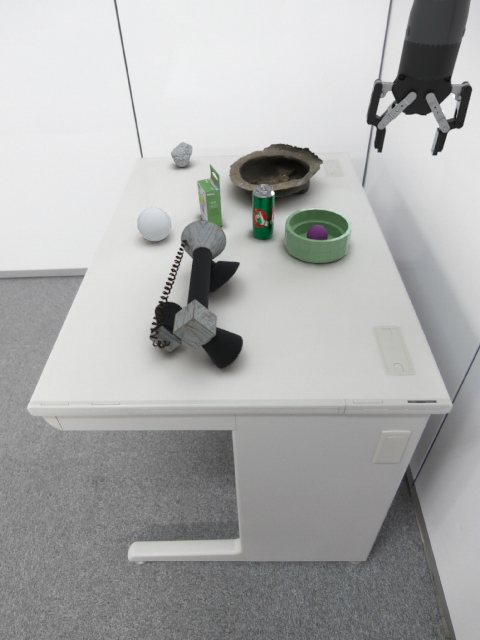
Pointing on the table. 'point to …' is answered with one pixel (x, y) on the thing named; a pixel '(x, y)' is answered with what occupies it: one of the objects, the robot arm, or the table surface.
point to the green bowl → (317, 249)
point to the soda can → (263, 211)
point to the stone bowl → (276, 169)
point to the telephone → (198, 298)
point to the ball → (154, 223)
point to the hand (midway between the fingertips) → (406, 152)
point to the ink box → (210, 198)
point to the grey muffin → (182, 154)
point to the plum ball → (317, 233)
